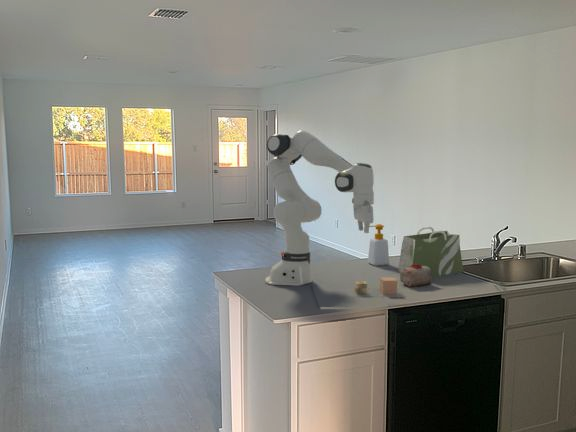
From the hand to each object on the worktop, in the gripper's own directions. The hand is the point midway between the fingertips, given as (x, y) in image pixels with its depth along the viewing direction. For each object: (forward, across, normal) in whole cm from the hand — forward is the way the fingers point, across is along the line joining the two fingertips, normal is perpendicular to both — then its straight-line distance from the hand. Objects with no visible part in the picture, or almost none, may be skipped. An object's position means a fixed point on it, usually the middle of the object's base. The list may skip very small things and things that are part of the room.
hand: (363, 231), depth 245 cm
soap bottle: (+26, +57, -21) cm, 66 cm away
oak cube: (+26, -6, +3) cm, 27 cm away
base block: (+27, -7, -9) cm, 29 cm away
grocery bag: (+27, +34, -44) cm, 62 cm away
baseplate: (+27, -6, -3) cm, 28 cm away
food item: (+27, +10, -28) cm, 40 cm away
